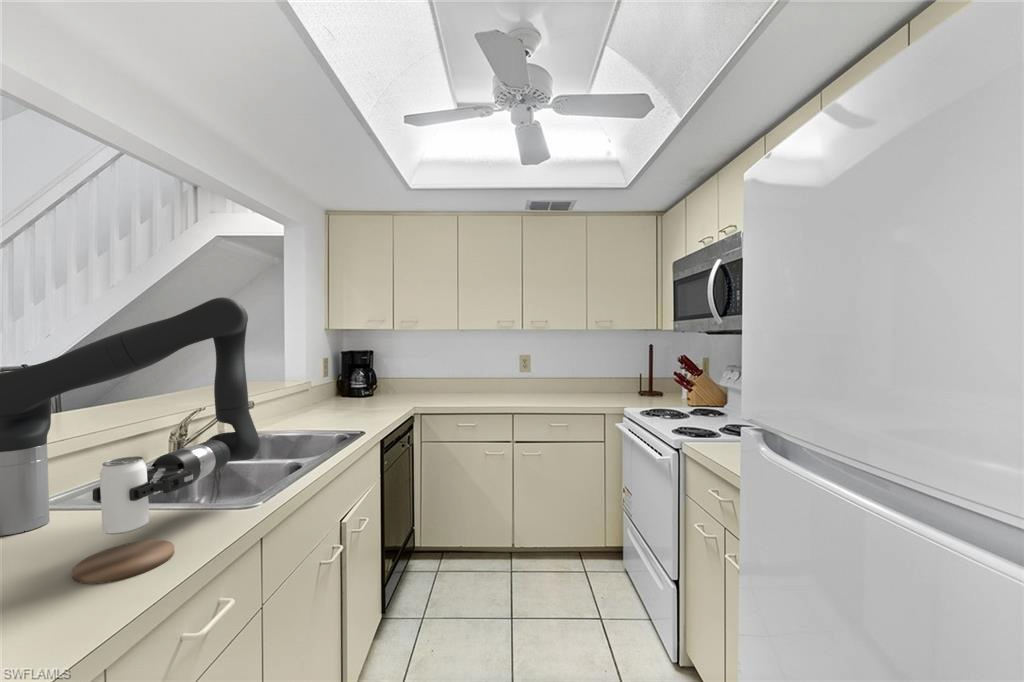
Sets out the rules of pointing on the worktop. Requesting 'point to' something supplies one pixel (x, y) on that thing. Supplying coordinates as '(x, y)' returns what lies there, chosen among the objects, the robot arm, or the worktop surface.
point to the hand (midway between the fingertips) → (113, 495)
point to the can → (123, 495)
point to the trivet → (123, 561)
